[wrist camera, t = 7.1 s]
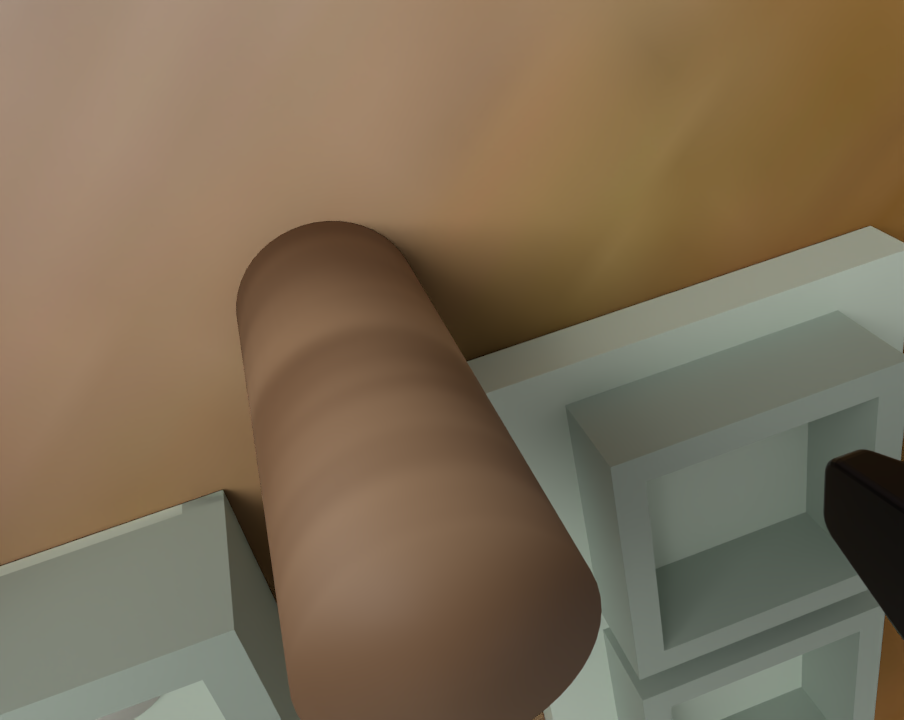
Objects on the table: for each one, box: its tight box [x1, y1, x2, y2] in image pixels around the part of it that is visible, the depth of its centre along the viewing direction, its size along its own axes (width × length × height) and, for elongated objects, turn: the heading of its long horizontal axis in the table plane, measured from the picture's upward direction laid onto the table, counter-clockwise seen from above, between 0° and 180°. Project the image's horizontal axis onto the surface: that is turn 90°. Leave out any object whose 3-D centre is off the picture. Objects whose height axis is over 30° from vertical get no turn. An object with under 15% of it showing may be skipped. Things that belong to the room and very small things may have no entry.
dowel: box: [236, 221, 602, 720], centre depth 12 cm, size 3×3×8 cm
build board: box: [467, 226, 904, 720], centre depth 19 cm, size 14×9×3 cm, turn 12°
